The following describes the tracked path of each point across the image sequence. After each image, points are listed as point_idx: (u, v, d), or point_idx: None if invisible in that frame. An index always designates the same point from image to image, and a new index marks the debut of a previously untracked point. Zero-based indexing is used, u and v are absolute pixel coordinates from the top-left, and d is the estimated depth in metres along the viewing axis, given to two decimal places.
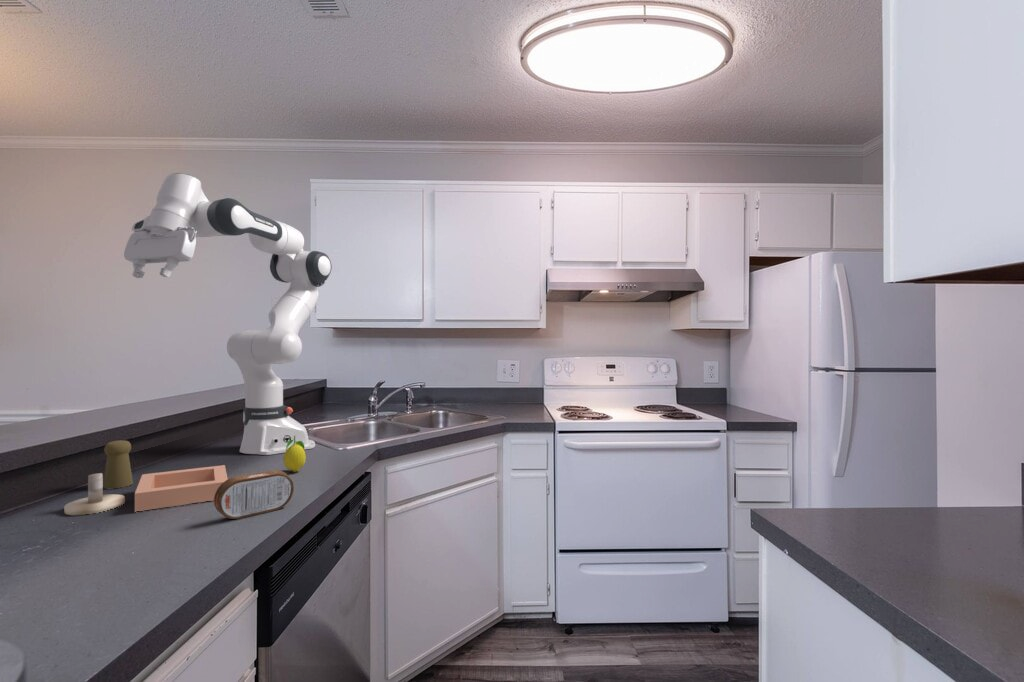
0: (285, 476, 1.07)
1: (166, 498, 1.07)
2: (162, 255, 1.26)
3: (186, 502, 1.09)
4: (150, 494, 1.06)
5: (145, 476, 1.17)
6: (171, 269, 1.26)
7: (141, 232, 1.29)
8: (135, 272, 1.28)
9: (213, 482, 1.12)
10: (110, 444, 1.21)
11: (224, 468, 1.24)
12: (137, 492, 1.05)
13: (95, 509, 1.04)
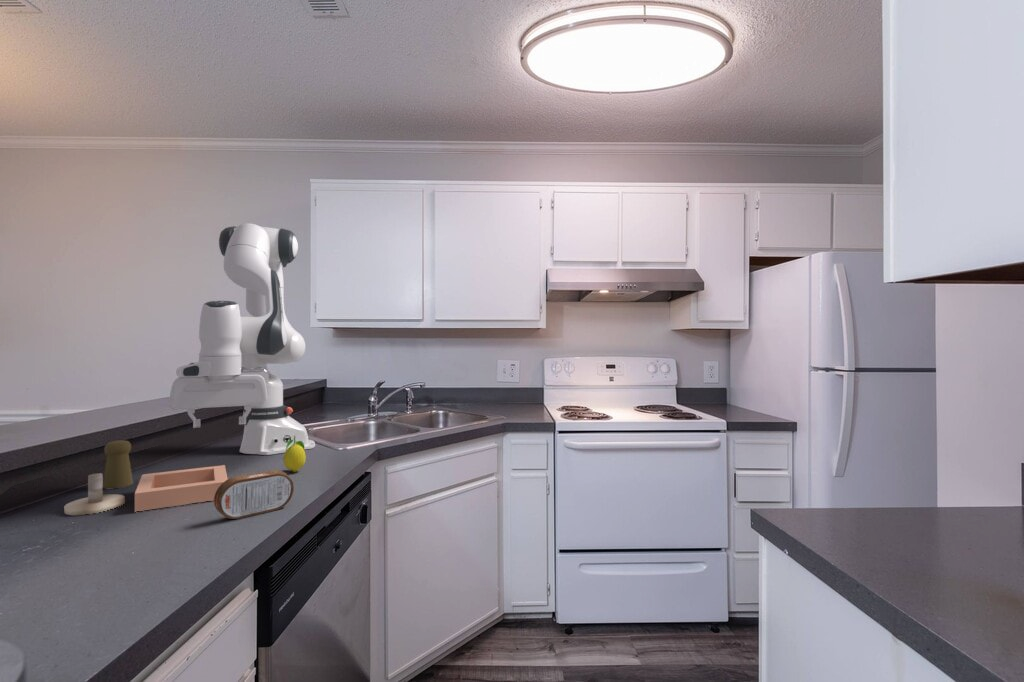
0: (285, 476, 1.07)
1: (166, 498, 1.07)
2: (239, 405, 1.20)
3: (186, 502, 1.09)
4: (150, 494, 1.06)
5: (145, 476, 1.17)
6: None
7: (197, 379, 1.15)
8: (197, 424, 1.16)
9: (213, 482, 1.12)
10: (110, 444, 1.21)
11: (224, 468, 1.24)
12: (137, 492, 1.05)
13: (95, 509, 1.04)
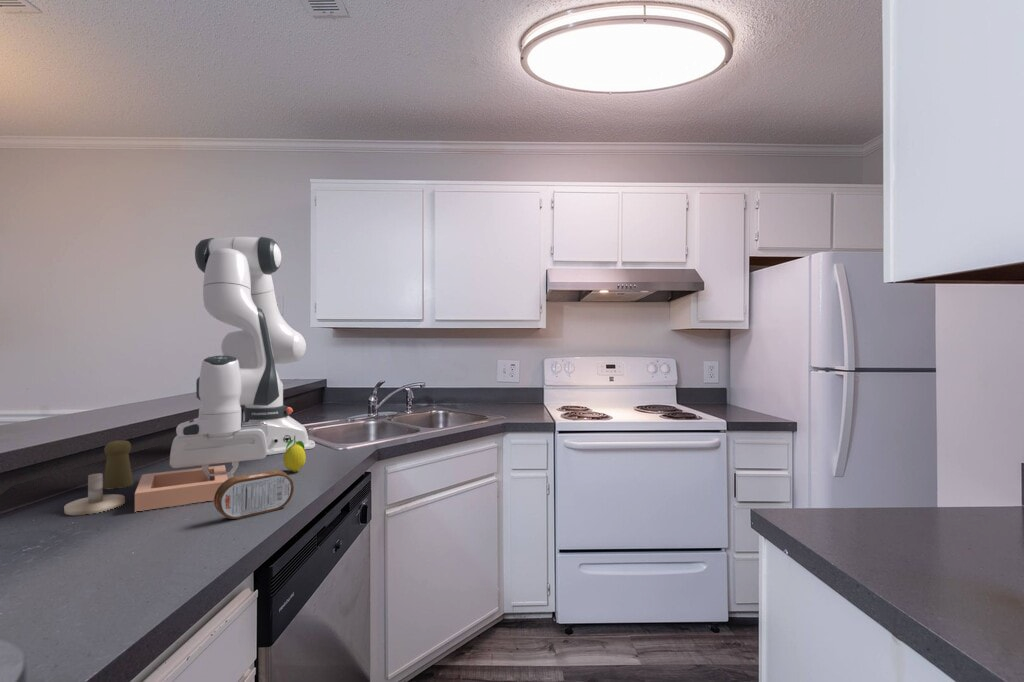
0: (285, 476, 1.07)
1: (166, 498, 1.07)
2: (240, 460, 1.21)
3: (186, 502, 1.09)
4: (150, 494, 1.06)
5: (145, 476, 1.17)
6: None
7: (197, 438, 1.15)
8: (211, 479, 1.18)
9: (213, 482, 1.12)
10: (110, 444, 1.21)
11: (224, 468, 1.24)
12: (137, 492, 1.05)
13: (95, 509, 1.04)
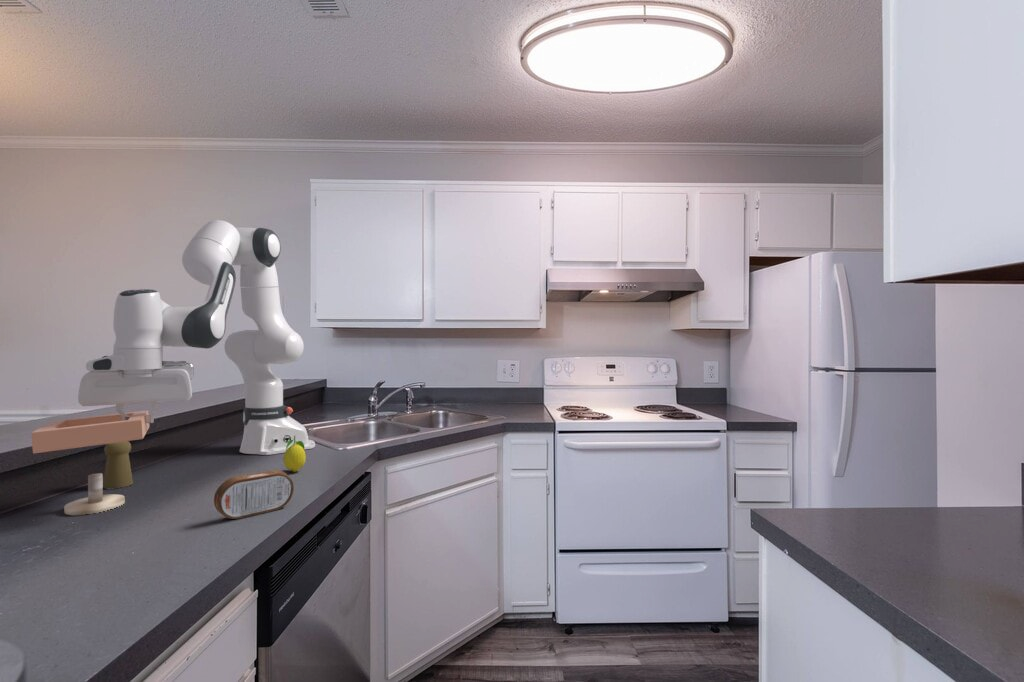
0: (285, 476, 1.07)
1: (69, 438, 0.98)
2: (160, 401, 1.12)
3: (93, 442, 1.00)
4: (50, 433, 0.97)
5: (54, 421, 1.08)
6: None
7: (110, 374, 1.06)
8: None
9: (124, 421, 1.04)
10: (110, 444, 1.21)
11: (145, 412, 1.16)
12: (35, 432, 0.96)
13: (95, 509, 1.04)
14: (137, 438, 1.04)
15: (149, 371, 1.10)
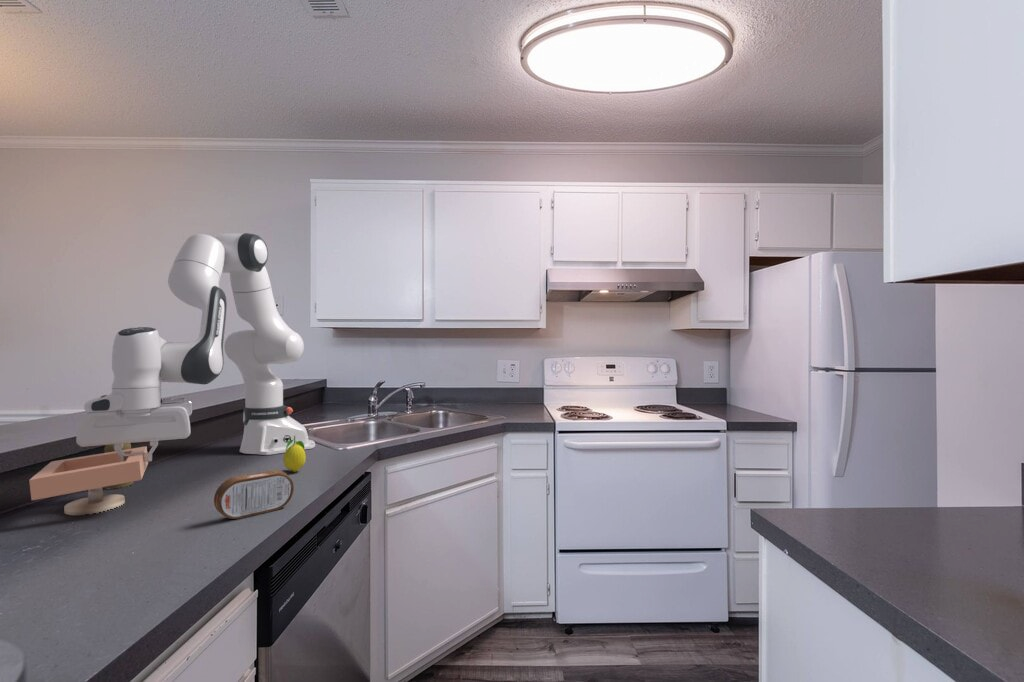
0: (285, 476, 1.07)
1: (67, 483, 0.98)
2: (158, 440, 1.12)
3: (92, 486, 1.00)
4: (48, 479, 0.97)
5: (53, 463, 1.08)
6: None
7: (108, 414, 1.06)
8: (125, 460, 1.09)
9: (122, 463, 1.04)
10: None
11: (143, 449, 1.16)
12: (33, 478, 0.96)
13: (95, 509, 1.04)
14: (136, 479, 1.04)
15: (147, 410, 1.10)
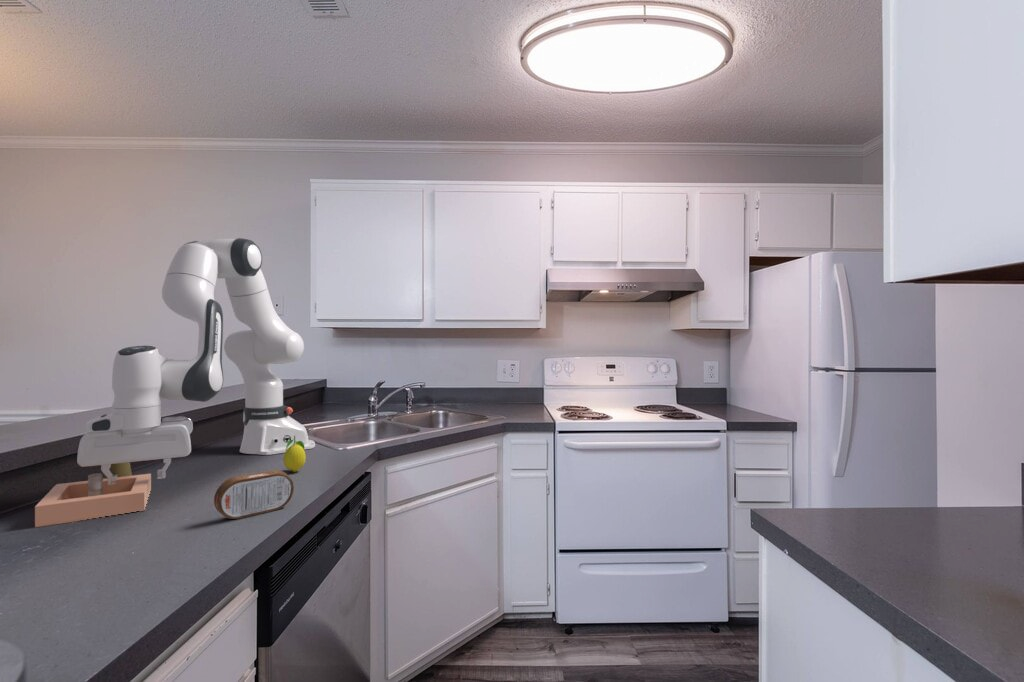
0: (285, 476, 1.07)
1: (72, 511, 0.99)
2: (159, 458, 1.12)
3: (95, 515, 1.01)
4: (53, 507, 0.97)
5: (58, 486, 1.09)
6: None
7: (108, 434, 1.06)
8: (112, 480, 1.08)
9: (127, 493, 1.04)
10: None
11: (148, 477, 1.16)
12: (38, 505, 0.97)
13: None
14: (139, 510, 1.05)
15: (148, 429, 1.10)
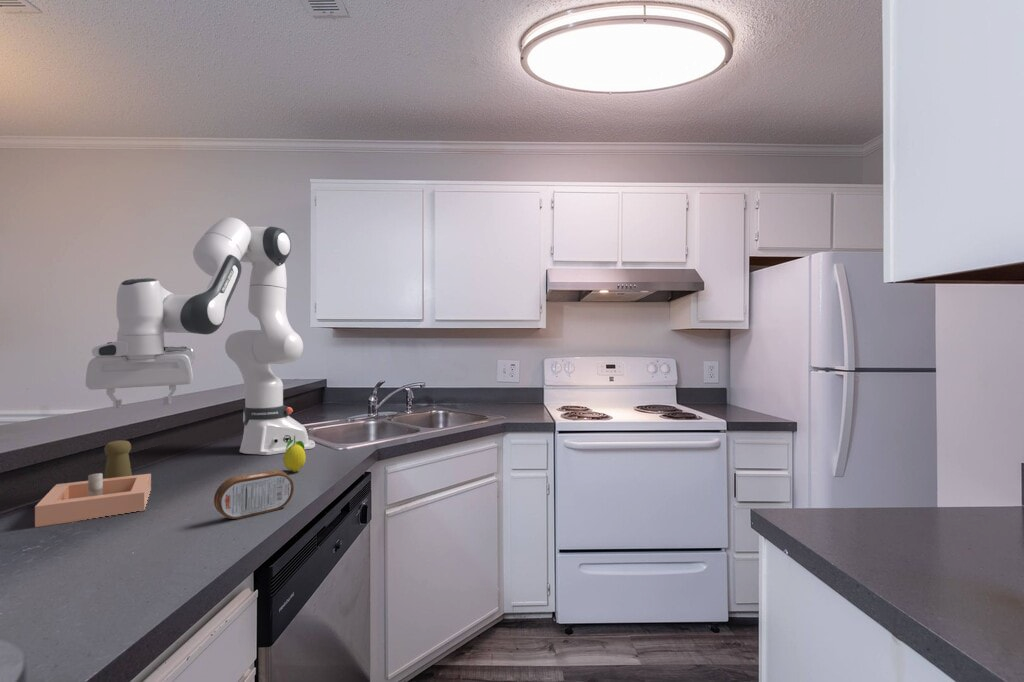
0: (285, 476, 1.07)
1: (72, 511, 0.99)
2: (163, 385, 1.18)
3: (95, 515, 1.01)
4: (53, 507, 0.97)
5: (58, 486, 1.09)
6: None
7: (115, 359, 1.12)
8: (117, 404, 1.14)
9: (127, 493, 1.04)
10: (110, 444, 1.21)
11: (148, 477, 1.16)
12: (38, 505, 0.97)
13: None
14: (139, 510, 1.05)
15: (152, 356, 1.16)
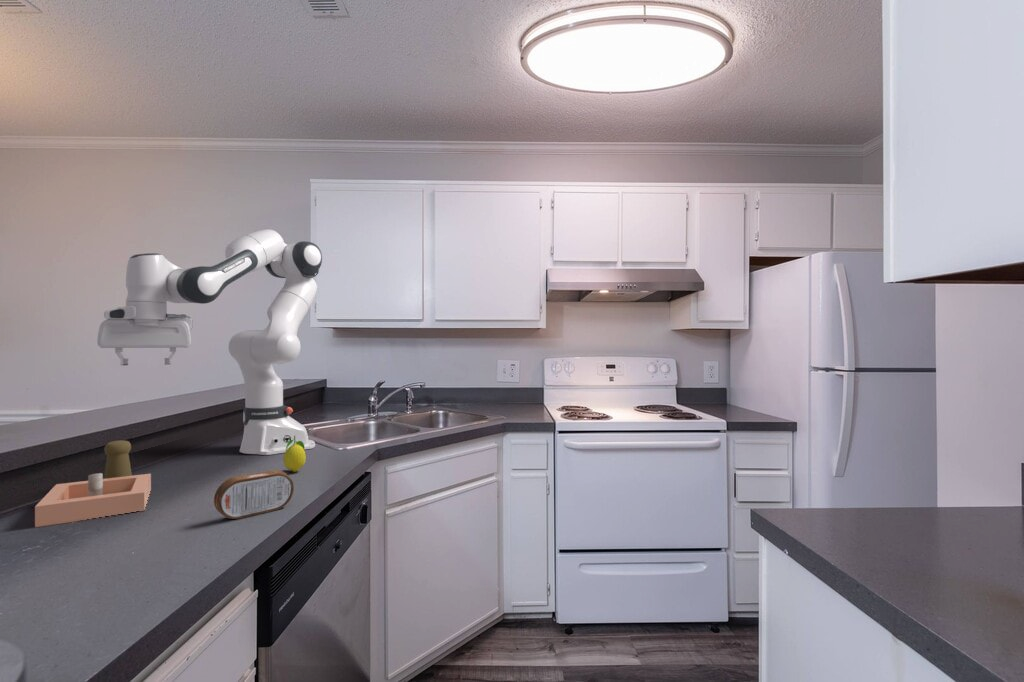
0: (285, 476, 1.07)
1: (72, 511, 0.99)
2: (164, 347, 1.35)
3: (95, 515, 1.01)
4: (53, 507, 0.97)
5: (58, 486, 1.09)
6: None
7: (123, 321, 1.29)
8: (124, 362, 1.31)
9: (127, 493, 1.04)
10: (110, 444, 1.21)
11: (148, 477, 1.16)
12: (38, 505, 0.97)
13: None
14: (139, 510, 1.05)
15: (155, 321, 1.33)
